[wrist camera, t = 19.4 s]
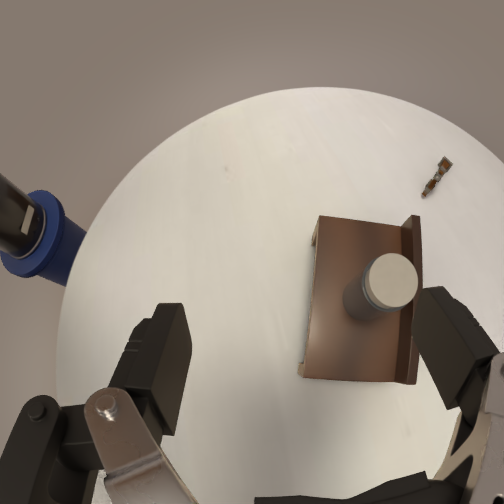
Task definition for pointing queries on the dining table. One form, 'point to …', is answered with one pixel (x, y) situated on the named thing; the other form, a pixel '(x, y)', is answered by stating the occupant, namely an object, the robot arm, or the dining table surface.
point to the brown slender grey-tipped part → (438, 174)
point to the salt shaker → (380, 288)
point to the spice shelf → (341, 323)
